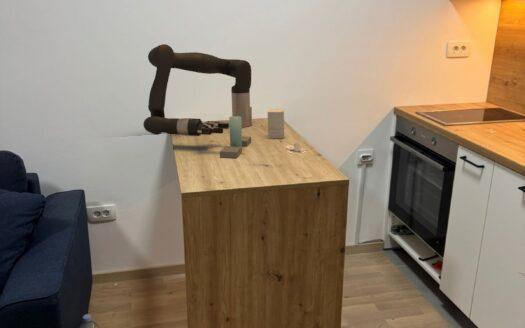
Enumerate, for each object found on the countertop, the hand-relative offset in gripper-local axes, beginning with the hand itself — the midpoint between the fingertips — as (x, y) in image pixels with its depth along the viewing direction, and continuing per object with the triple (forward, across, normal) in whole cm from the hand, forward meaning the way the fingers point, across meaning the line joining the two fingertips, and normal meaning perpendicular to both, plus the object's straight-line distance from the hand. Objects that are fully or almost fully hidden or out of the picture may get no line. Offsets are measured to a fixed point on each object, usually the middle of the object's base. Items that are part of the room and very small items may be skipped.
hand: (225, 128), depth 206 cm
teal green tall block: (+4, 0, +9) cm, 10 cm away
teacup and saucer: (+30, +5, +10) cm, 32 cm away
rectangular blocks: (+4, 0, +9) cm, 10 cm away
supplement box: (+17, +24, +9) cm, 31 cm away
